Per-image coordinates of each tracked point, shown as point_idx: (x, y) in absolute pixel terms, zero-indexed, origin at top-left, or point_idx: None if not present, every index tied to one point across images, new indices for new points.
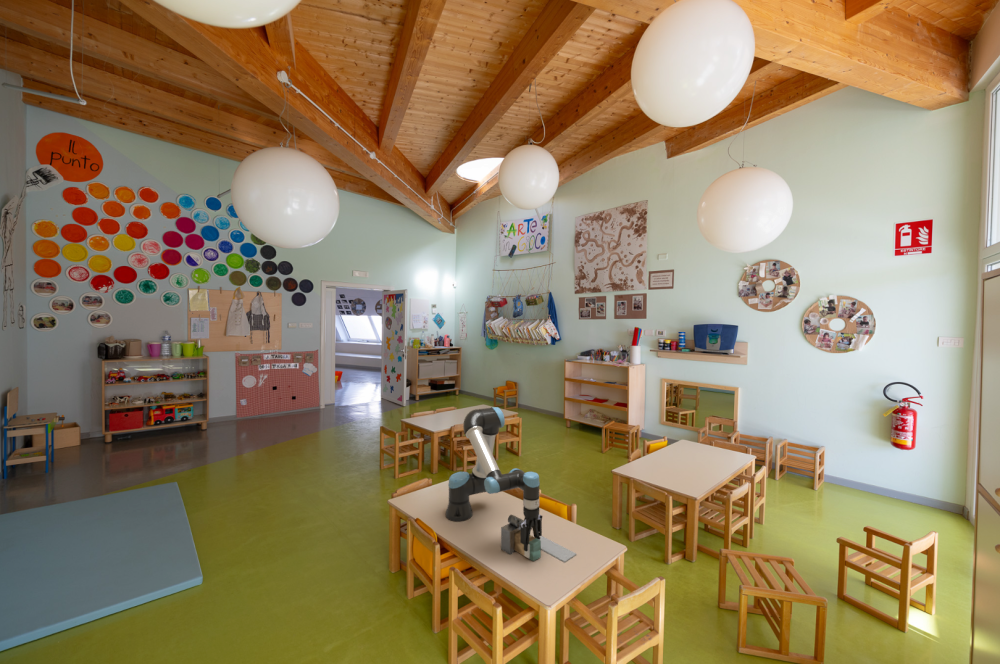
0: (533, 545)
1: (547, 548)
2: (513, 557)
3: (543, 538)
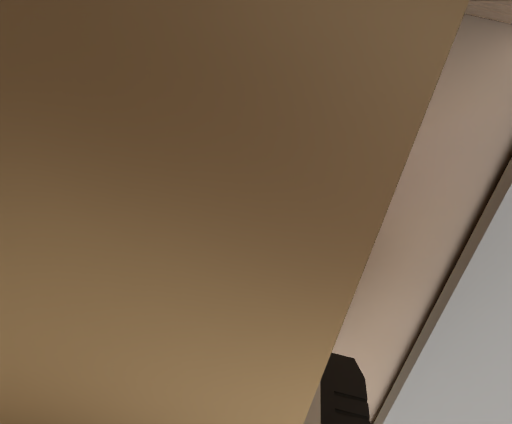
0: None
1: (490, 366)
2: None
3: None
